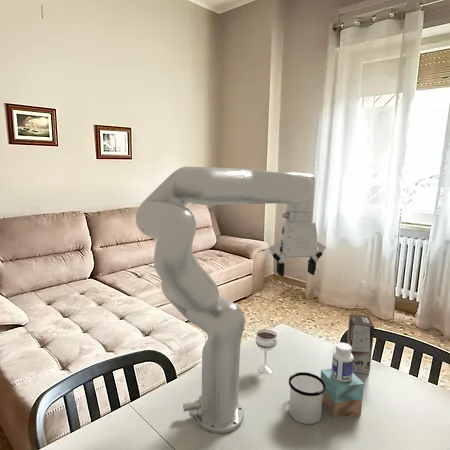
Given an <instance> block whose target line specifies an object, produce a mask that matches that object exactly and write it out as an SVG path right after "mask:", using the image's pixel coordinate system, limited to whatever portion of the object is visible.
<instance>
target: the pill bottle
mask: <svg viewBox="0 0 450 450" xmlns="http://www.w3.org/2000/svg"><path fill="white" fill-rule="evenodd" d="M351 352H352V347H351V346H350V345H349V344H347V342H337V343H336V344H335V351H333V353H332V362H331V369H332V376H333V378H334V379H336V380H338V381H341V382H348V381H350V380H351V379H352V373H354V372H353V360H354V357H353V355H352V354H351Z"/></svg>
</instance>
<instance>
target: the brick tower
mask: <svg viewBox="0 0 450 450" xmlns="http://www.w3.org/2000/svg"><path fill="white" fill-rule="evenodd" d="M320 378H321V379H322V380H323V381H324V382H325V386H326V389H325V391H324V392H323V399H322V406H324V407H325V409H326V410H327V411H328V413H329V414H330V415H331V417H332V418H333V419H340V418H346V417H351V416H352V417H353V416H359V415H362V408H363V407H362V406H363V397H364V387H365V383H364V382H363V381H362V380H361V379H360V378H359V377H358V376H357V375H356V374H355V372H353V373H352V379H351V380H350V381H348V382H341V381H338V380H336V379H334V378H333V376H332V368H324V369H321V370H320Z"/></svg>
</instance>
